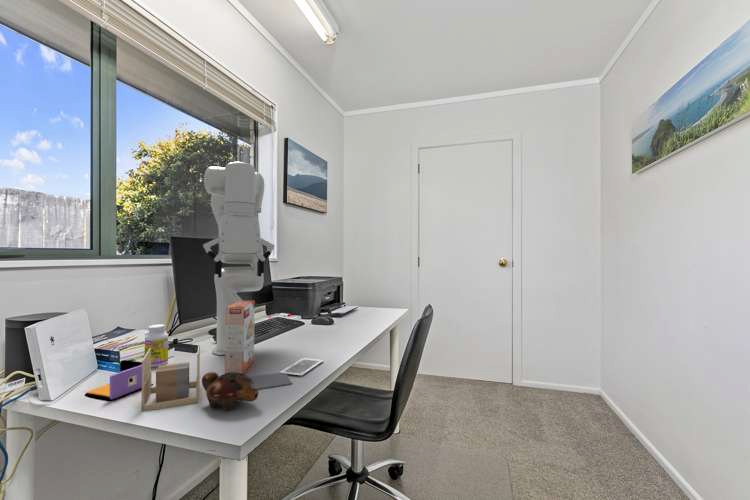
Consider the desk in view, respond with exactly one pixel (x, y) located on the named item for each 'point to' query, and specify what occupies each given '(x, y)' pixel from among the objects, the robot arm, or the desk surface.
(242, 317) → the cracker box
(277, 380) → the rubber mat
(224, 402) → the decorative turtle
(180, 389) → the box
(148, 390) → the wooden rack
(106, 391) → the toy room diorama
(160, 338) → the supplement bottle
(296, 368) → the touchpad
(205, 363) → the desk surface
